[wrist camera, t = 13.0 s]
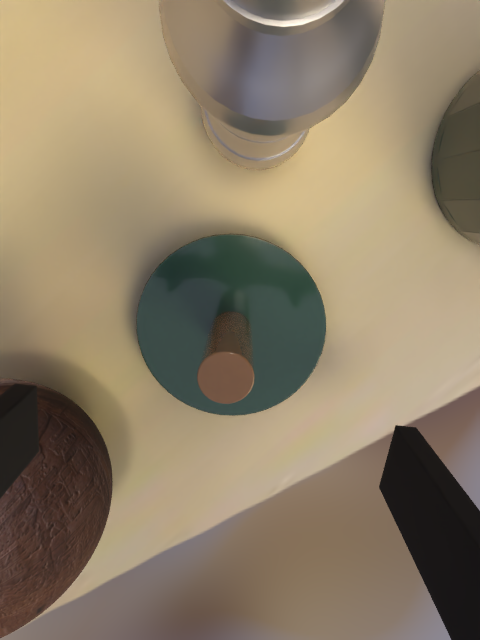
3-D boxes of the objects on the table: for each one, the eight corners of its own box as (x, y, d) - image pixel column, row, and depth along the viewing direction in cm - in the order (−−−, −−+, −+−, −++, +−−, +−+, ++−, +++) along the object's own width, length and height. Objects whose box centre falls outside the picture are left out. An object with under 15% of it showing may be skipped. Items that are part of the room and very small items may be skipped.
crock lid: (145, 221, 27) (96, 229, 18) (338, 245, 27) (383, 264, 18) (136, 397, 31) (92, 474, 22) (306, 417, 31) (331, 500, 22)
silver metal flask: (283, 39, 24) (444, -647, 5) (320, 149, 26) (549, -20, 6) (188, 86, 25) (-12, -341, 5) (230, 190, 26) (192, 145, 7)
